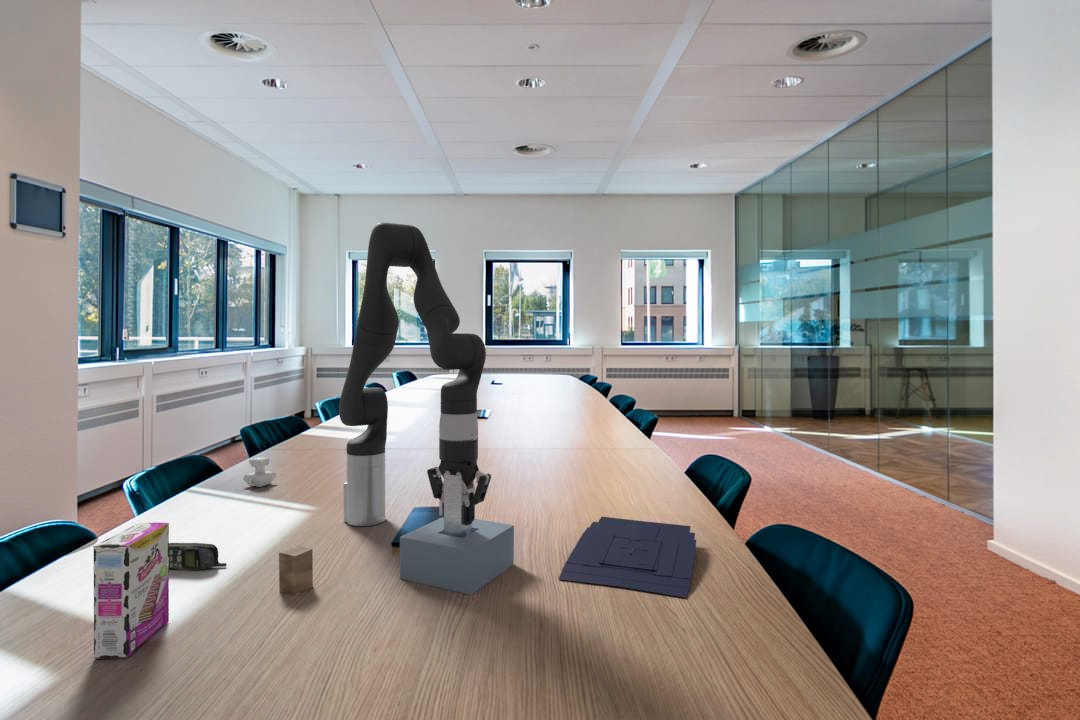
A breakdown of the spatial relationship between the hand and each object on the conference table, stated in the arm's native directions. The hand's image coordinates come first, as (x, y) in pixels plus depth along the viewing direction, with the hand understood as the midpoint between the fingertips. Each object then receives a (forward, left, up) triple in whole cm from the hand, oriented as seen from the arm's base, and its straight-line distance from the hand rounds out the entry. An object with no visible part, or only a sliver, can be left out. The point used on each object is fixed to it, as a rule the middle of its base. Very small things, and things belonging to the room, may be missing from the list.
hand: (458, 522), depth 116 cm
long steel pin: (0, 0, -4) cm, 4 cm away
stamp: (-91, +28, -10) cm, 96 cm away
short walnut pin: (-22, -20, -10) cm, 31 cm away
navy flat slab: (+29, +21, -10) cm, 38 cm away
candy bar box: (-29, -44, -10) cm, 54 cm away
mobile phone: (-49, -23, -10) cm, 55 cm away
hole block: (0, 0, -10) cm, 10 cm away
